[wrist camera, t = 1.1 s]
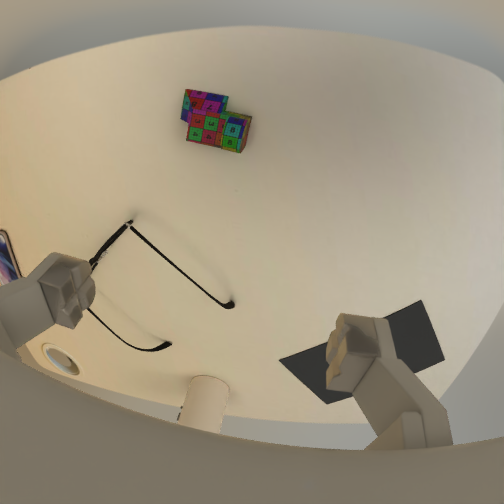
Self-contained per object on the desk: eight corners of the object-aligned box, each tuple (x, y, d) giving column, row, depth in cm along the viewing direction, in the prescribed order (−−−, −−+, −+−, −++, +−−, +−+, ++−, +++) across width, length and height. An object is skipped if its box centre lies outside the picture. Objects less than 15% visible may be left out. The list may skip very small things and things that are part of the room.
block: (255, 102, 24) (249, 106, 21) (244, 146, 26) (237, 157, 23) (186, 89, 24) (171, 92, 21) (179, 132, 26) (164, 141, 23)
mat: (421, 299, 32) (421, 300, 32) (444, 359, 37) (444, 359, 37) (279, 360, 40) (278, 360, 40) (326, 403, 45) (326, 404, 45)
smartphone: (3, 233, 35) (31, 308, 43) (6, 230, 36) (34, 305, 44) (-20, 228, 35) (7, 299, 44) (-17, 226, 36) (9, 296, 44)
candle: (186, 372, 45) (157, 457, 33) (227, 378, 44) (205, 467, 32) (193, 393, 49) (169, 470, 36) (231, 399, 48) (212, 479, 35)
